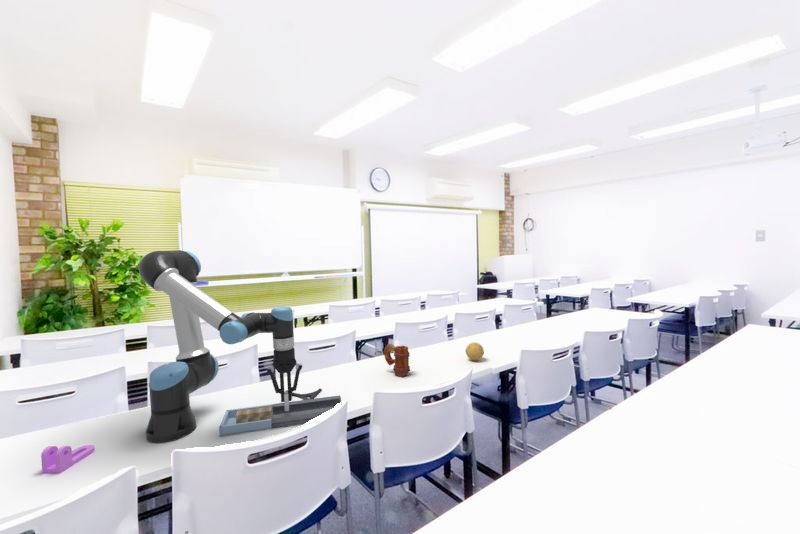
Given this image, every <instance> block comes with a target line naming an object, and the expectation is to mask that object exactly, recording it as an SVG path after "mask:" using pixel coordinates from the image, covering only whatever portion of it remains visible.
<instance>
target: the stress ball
mask: <svg viewBox="0 0 800 534" xmlns="http://www.w3.org/2000/svg"><path fill="white" fill-rule="evenodd" d="M465 354H466V356H467V358H469V359H470V360H471V361H473V362H477V361H479V360H481V359H482V358H483V356H484V354H485V349H484V348H483V345H482V344H480V343H478V342H471V343H469V344H468V345H467V346H466V348H465Z"/></svg>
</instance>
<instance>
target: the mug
mask: <svg viewBox="0 0 800 534" xmlns="http://www.w3.org/2000/svg"><path fill="white" fill-rule="evenodd" d="M392 352H393V356H394V358H392V356H391V353H392ZM383 356H384V359H385V361H386V363H387V365H388V366H392V365H393V369H392V370H393V372H394V375H396V376H398V377H406V376H408V375H409V373H410V371H411V367H410V364H409V360H410V358H409V357H410V352H409V347H408V346H406V345H397V346H395V345H394V344H393V343H387V345H386V346H385V347H384V350H383Z"/></svg>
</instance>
